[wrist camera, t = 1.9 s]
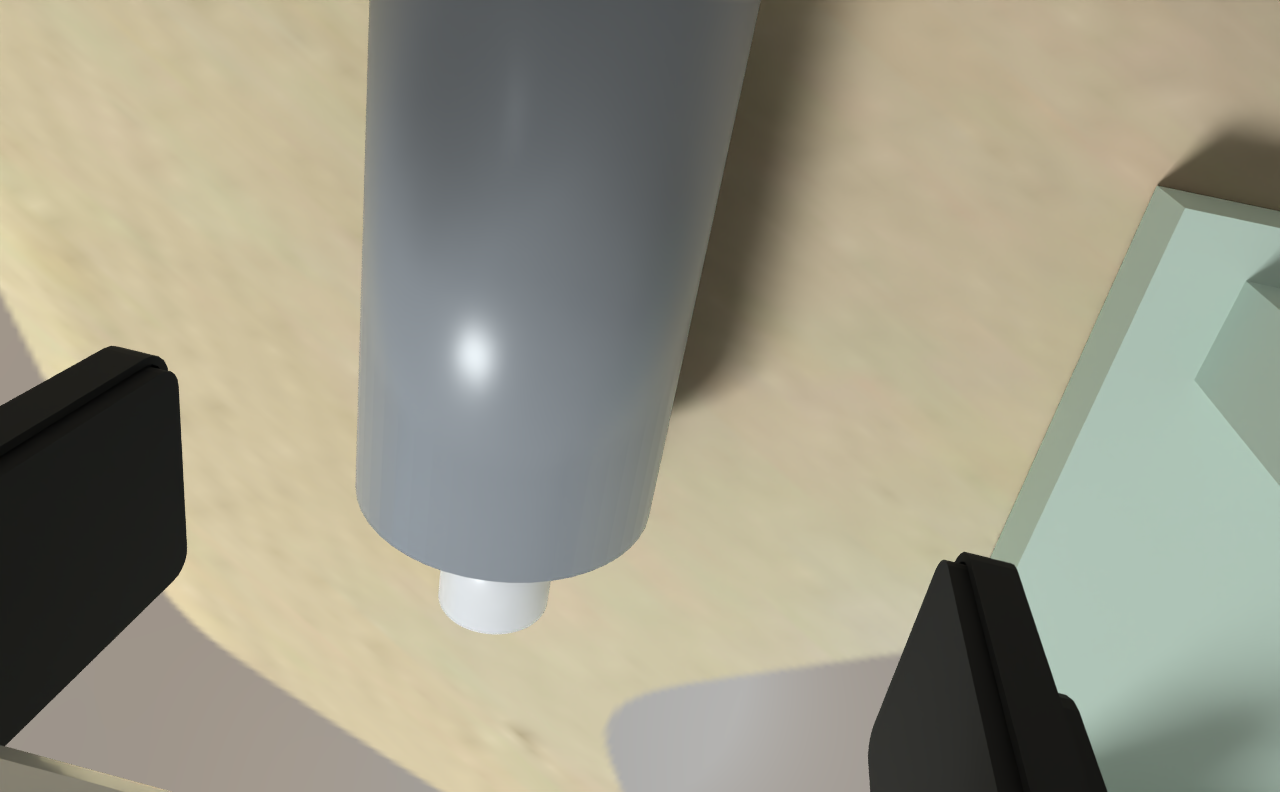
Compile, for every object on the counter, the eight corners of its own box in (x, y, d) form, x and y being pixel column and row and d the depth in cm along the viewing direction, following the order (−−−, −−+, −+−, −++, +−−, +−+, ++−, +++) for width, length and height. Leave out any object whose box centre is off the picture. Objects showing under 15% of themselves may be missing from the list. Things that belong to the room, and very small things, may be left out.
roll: (609, -239, 17) (293, -335, 13) (892, -211, 13) (585, -328, 9) (515, 486, 24) (299, 570, 20) (681, 619, 21) (462, 751, 17)
